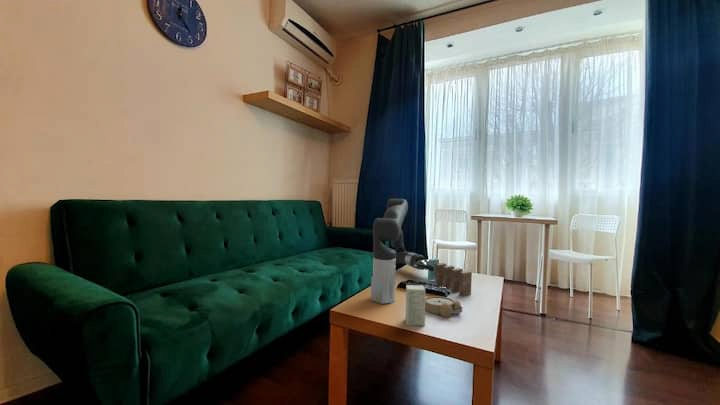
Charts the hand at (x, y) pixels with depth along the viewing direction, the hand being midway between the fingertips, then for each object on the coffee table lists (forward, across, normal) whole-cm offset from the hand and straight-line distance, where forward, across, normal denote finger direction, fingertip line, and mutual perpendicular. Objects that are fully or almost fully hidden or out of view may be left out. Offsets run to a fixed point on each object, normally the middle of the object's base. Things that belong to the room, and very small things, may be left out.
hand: (437, 268), depth 139 cm
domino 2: (+7, 0, +7) cm, 10 cm away
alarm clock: (+26, -22, +8) cm, 35 cm away
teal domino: (-3, 0, +6) cm, 7 cm away
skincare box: (+29, -38, +7) cm, 48 cm away
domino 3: (+12, 0, +7) cm, 14 cm away
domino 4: (+17, 0, +7) cm, 19 cm away
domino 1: (+2, 0, +7) cm, 8 cm away
